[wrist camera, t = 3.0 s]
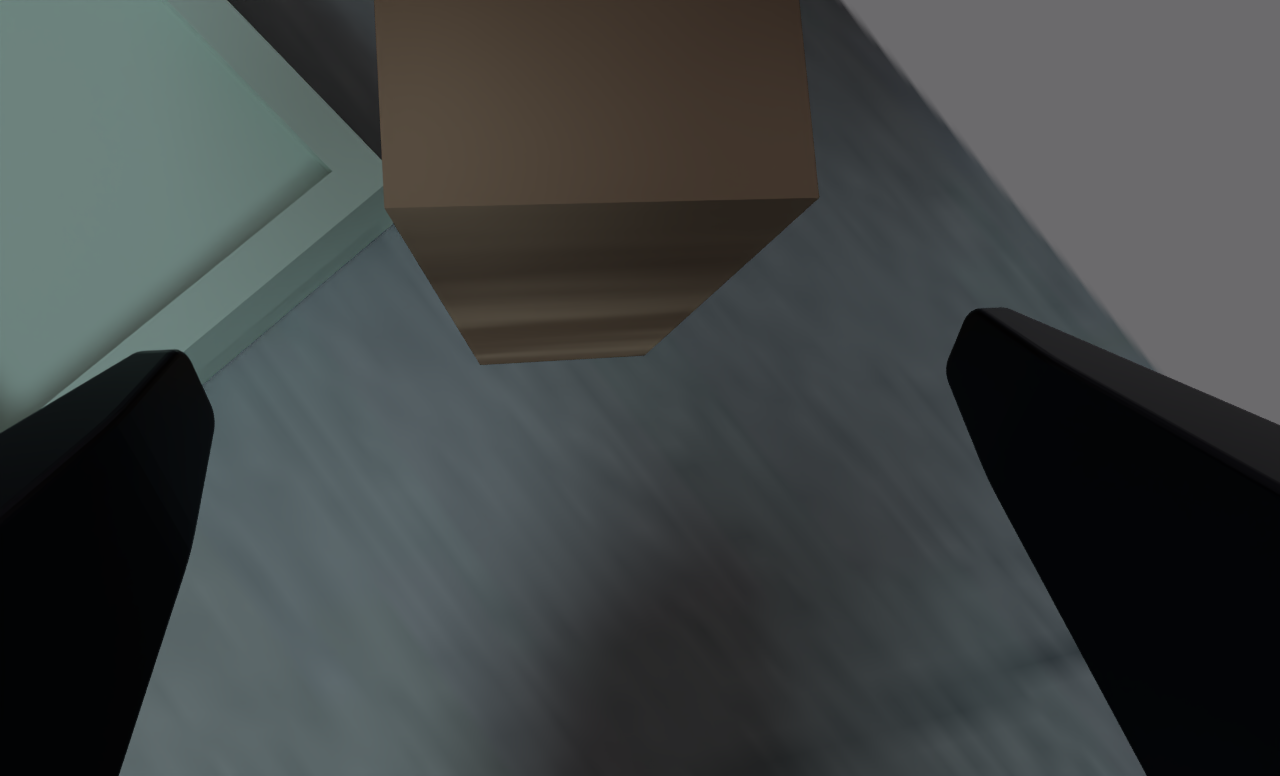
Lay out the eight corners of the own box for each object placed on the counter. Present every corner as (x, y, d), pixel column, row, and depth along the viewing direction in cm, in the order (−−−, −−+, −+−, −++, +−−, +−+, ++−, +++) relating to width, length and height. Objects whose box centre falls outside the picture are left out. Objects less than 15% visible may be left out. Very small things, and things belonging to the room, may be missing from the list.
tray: (25, 534, 17) (-52, 546, 14) (-352, 163, 16) (-489, 118, 14) (412, 207, 19) (396, 175, 16) (86, -130, 18) (25, -209, 16)
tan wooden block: (644, 355, 19) (819, 197, 7) (480, 364, 19) (384, 208, 7) (632, 199, 20) (780, -188, 8) (470, 202, 19) (363, -217, 7)
